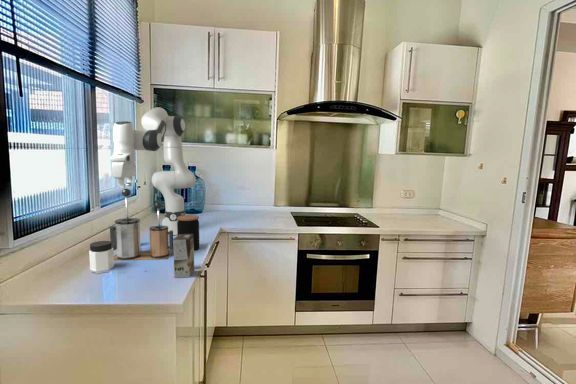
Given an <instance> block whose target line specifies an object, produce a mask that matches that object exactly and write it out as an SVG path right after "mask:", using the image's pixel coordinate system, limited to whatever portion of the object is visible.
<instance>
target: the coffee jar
mask: <svg viewBox="0 0 576 384" xmlns="http://www.w3.org/2000/svg"><path fill="white" fill-rule="evenodd" d="M177 219H178V222H177V234H178V235H179V234H194V252H196V251H198V250H199V249H200V221H199V219H200V216H199V215H197V214H185V215H182V216H178V217H177ZM178 235H177V236H178Z"/></svg>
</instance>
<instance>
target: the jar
mask: <svg viewBox="0 0 576 384" xmlns="http://www.w3.org/2000/svg"><path fill="white" fill-rule="evenodd" d="M114 251H115V250H113V248H112V242H111V241H110V240H100V241H94V242H92V243H90V244H89V250H88V254H89V257H88V258H89V271H93V272H91V273H92V274H94V275H101V274H107V273H109V270H111V269H112V268H114V267H115V261H114V256H115V254H114Z"/></svg>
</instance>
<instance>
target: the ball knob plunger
mask: <svg viewBox="0 0 576 384" xmlns="http://www.w3.org/2000/svg"><path fill="white" fill-rule="evenodd" d="M162 206H163V204H162V202H160V201H156V202H155V203H154V208H156V210H157V226H158V228H160V226H161V224H160V222H161V221H160V218H161V217H160V209H161V208H162Z"/></svg>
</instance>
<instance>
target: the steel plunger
mask: <svg viewBox="0 0 576 384" xmlns="http://www.w3.org/2000/svg"><path fill="white" fill-rule="evenodd" d="M121 195H122V196H123V197H124V198H125V201H124V202H125V218H126V221H128V218H129V203H128V202H129V201H128V200H129V199H128V197H129V196H130V195H131V190H130V189H129V188H122V190H121Z"/></svg>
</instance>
